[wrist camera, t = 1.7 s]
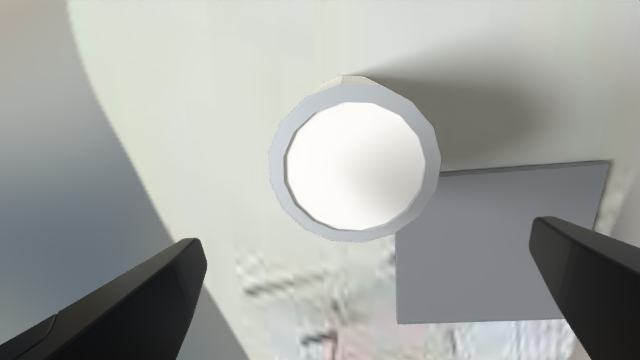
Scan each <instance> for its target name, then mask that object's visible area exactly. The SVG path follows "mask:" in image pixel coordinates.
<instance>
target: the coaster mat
mask: <svg viewBox="0 0 640 360" xmlns="http://www.w3.org/2000/svg"><path fill="white" fill-rule="evenodd" d="M609 165H610V164H608V163H606V162H604V161H589V162H576V163H562V164H549V165H536V166H522V167H509V168H496V169H482V170H469V171H456V172H442V173H439V177H438V182H437V187H436V191H435V193H434V194H433V196H432V197H431V198H430V200H429V201H428V203H427V204H426V206H425V207H424V209H423V210H422V212H421V213H420V215H419V216H418V217H417V218H415V219H414V220H413V221H411V222H410V223H408V224H407V225H405V226H404V227H402V228H401V229H400V230H398V231H397V232H395V260H396V312H397V323H398V324H424V323H455V322H486V321H518V320H549V319H565V318H564V316H563V315H562V313H561V311H560V310H559V308H558V306H557V305H556V303H555V301H554V299H553V297H552V296H551V294H550V292H549V290H548V288H547V286H546V284H545V282H544V280H543V278H542V276H541V274H540V272H539V270H538V268H537V266H536V264H535V262H534V260H533V258H532V256H531V253H530V251H529V239H530V233H531V228H532V223H533V220H534V219H535V218H536V217H543V216H554V217H557V218H560V219H563V220H565V221H568V222H571V223H573V224H576V225H579V226H581V227H584V228H587V229H589V230H592V228H593V224H594V221H595V217H596V213H597V210H598V206H599V202H600V198H601V195H602V191H603V187H604V184H605V180H606V176H607V173H608V169H609Z"/></svg>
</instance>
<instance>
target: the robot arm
mask: <svg viewBox="0 0 640 360" xmlns="http://www.w3.org/2000/svg"><path fill="white" fill-rule="evenodd" d="M529 251H530V253H531V256H532V258H533V260H534V262H535V264H536V266H537V268H538V270H539V272H540V274H541V276H542V278H543V280H544V282H545V284H546V286H547V288H548V290H549V292H550V294H551V296H552V297H553V299H554V301H555V303H556V305H557V306H558V308H559V310H560V311H561V313H562V315H563V316H564V318H565V319H566V321H567V322H568V324H569V325H570V327H571V329H572V330H573V332H574V333H575V335H576V336H577V338H578V339H579V341H580V343H581V344H582V346H583V347H584V349H585V350H586V352H587V353H588V355H589V357H590V358H591V360H640V248H638V247H635V246H632V245H630V244H627V243H624V242H622V241H619V240H616V239H614V238H611V237H608V236H606V235H603V234H600V233H598V232H595V231H592V230H589V229H587V228H584V227H581V226H579V225H576V224H573V223H571V222H568V221H565V220H563V219H560V218H557V217H554V216H543V217H536V218H535V219H534V220H533V223H532V228H531V233H530V239H529ZM206 270H207V260H206V257H205V254H204V251H203V247H202V244H201V242H200V240H199V239H198V238H185V239H182V240H180V241H179V242H177V243H175V244H173V245H172V246H170V247H168V248H167V249H165V250H163V251H162V252H160V253H158V254H156V255H155V256H153V257H151V258H150V259H148V260H146V261H145V262H143V263H141V264H139V265H138V266H136V267H134V268H133V269H131V270H129V271H127V272H126V273H124V274H122V275H120V276H119V277H117V278H115V279H114V280H112V281H110V282H109V283H107V284H105V285H103V286H102V287H100V288H98V289H97V290H95V291H93V292H91V293H90V294H88V295H86V296H85V297H83V298H81V299H80V300H78V301H76V302H74V303H73V304H71V305H69V306H68V307H66V308H64V309H63V310H61V311H59V312H58V314H54V315H52V316H50V317H49V318H47V319H45V320H44V321H42V322H40V323H39V324H37V325H35V326H33V327H31V328H30V329H28V330H26V331H25V332H23V333H21V334H19V335H17V336H16V337H14V338H12V339H10V340H8V341H7V342H5V343H3V344H1V345H0V360H176V357H177V355H178V353H179V350H180V348H181V345H182V343H183V340H184V338H185V335H186V333H187V331H188V328H189V326H190V323H191V321H192V318H193V315H194V312H195V309H196V305H197V302H198V298H199V294H200V291H201V288H202V284H203V281H204V277H205V274H206Z"/></svg>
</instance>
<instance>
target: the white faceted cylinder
mask: <svg viewBox="0 0 640 360" xmlns="http://www.w3.org/2000/svg"><path fill="white" fill-rule="evenodd" d="M268 155H269V178H270V184H271V186H272V188H273V191H274V193H275V195H276V197H277V199H278V201H279V203H280V205H281V207H282V209H283V210H284V211H285V212H286V213H287V214H288V215H289V216H290V217H292V218H293V219H294V220H295V221H296V222H297V223H298V224H299V225H300V226H302V227H303V228H304V229H305V230H307V231H310V232H312V233H315V234H317V235H320V236H322V237H325V238H327V239H330V240H332V241H346V242H366V241H370V240H374V239H377V238H381V237H385V236H388V235H392V234H394V233H395V232H397V231H398V230H400V229H401V228H402V227H404V226H405V225H407V224H408V223H410V222H411V221H413V220H414V219H415V218H417V217H418V216H419V215H420V213H421V212H422V210H423V209H424V207H425V206H426V204H427V203H428V201H429V200H430V198H431V197H432V196H433V194H434V193H435V191H436V187H437V182H438V177H439V171H440V166H441V161H442V159H441V155H440V151H439V147H438V143H437V139H436V135H435V131H434V128H433V126H432V125H431V124H430V123H429V122H428V120H427V119H426V118H425V117H424V116H423V114H422V113H421V112H420V111H419V110H418V108H417V107H416V106H415V105H414V104H413V102H412V101H410V100H408V99H406V98H405V97H403V96H401V95H399V94H397V93H395V92H393V91H391V90H390V89H388V88H386V87H384V86H382V85H380V84H378V83H376V82H374V81H372V80H370V79H368V78H366V77H364V76H348V75H342V76H339V77H337V78H334V79H332V80H329V81H326V82H324V83H323V84H321V85H320V86H319V87H318V88H316V89H315V90H314V91H313V92H312V93H310V94H309V95H308V96H307V97H305V98H304V99H303V100H302V101H301V102H300V103H299V104H298V105H297V106H296V107H295V108H294V109H293V110H292V111H291V112H290V113H289V114H288V115H287V116H286V117H285V118H284V119H283V120H282V121H281V122H280V124H279V127H278V129H277V132H276V134H275V137H274V139H273V142H272V144H271V147H270V149H269V152H268Z"/></svg>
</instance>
